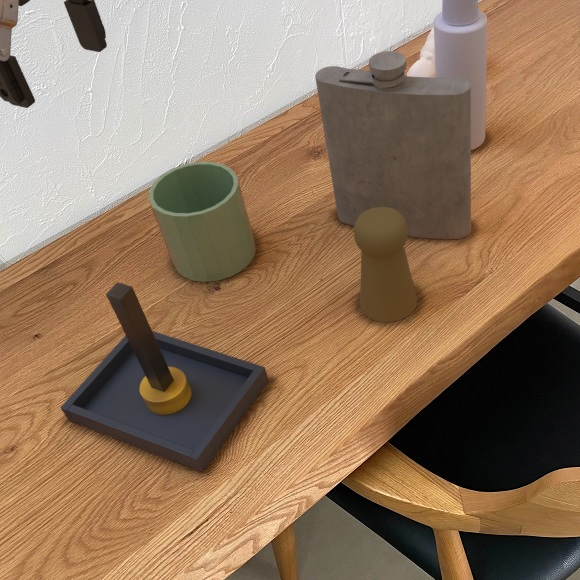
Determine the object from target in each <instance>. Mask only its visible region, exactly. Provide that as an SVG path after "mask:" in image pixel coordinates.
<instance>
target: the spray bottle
mask: <svg viewBox="0 0 580 580" xmlns="http://www.w3.org/2000/svg"><path fill="white" fill-rule="evenodd" d="M441 1H442V3H441V5H442V8H441V9H442V10H441V11H440V12H439V13H438V14H437V15H436V16H435V17H434V19H433V26H434V49H435V77H436V78H450V77H458V78H463V79H466V80H467V81H469V82H470V84H471V151H474V150H476V149H478V148H479V147H481V146H482V145H483V144H484V142H485V139H486V132H487V131H486V130H487V129H486V127H487V126H486V125H487V123H486V122H487V120H486V119H487V70H488V69H487V65H488V64H487V63H488V59H487V58H488V16H487V14H486V13H484V12H483V11H482V10H481V9H479V0H441Z"/></svg>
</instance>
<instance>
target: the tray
mask: <svg viewBox="0 0 580 580" xmlns="http://www.w3.org/2000/svg"><path fill="white" fill-rule="evenodd" d="M152 332H153V334H154V336H155V339H156V341H157V343H158V345H159V348H160V350H161V352H162V354H163V357H164V359H165V361H166V363H167V366H168V367H175V368H178V369H180V370H181V371H182V372H183V373H184V374H185V376H186V379H187V381H188V383H189V386H190V388H191V398H190V400H189V402H188V404H187V405H186V406H185V407H184V408H182V409H181V410H179V411H178V412H176V413H173V414H169V415H158V414H155V413H153V412H151V411H150V410H149V409H148V408H147V406H146V404H145V402H144V400H143V398H142V396H141V394H140V384H141V382H142V380H143V378H144V377H145V374H144V372H143V370H142V368H141V365H140V363H139V361H138V359H137V357H136V355H135V353H134V351H133V349H132V347H131V345H130V343H129V341H128V339H127V337H126V335H124V336H123V337H122V339H121V340H120V341H119V342H118V343H117V344H116V345H115V346H114V348H113V349H111V351H110V352H109V353H108V354H107V355H106V356H105V358H103V360H101V362H100V363H99V364H98V365H97V366H96V368H94V369H93V371H91V373H90V374H89V375H88V376H87V377H86V379H84V381H83V382H82V383H81V384H80V385H79V386H78V387H77V388H76V390H74V392H73V393H72V394H71V395H70V396H69V397H68V399H67V400H66V401H64V403H63V404H62V405H61V406H60V408H59V409H60V410H61V411H62V413H63V414H64V416H65V418H66V419H67V421H68V422H71V423H73V424H75V425H78V426H81V427H83V428H87V429H89V430H92V431H94V432H97V433H99V434H102V435H105V436H107V437H110V438H112V439H115V440H117V441H121V442H122V443H125V444H128V445H130V446H133V447H136V448H138V449H140V450H143V451H146V452H149V453H151V454H154V455H157V456H159V457H162V458H164V459H167V460H170V461H172V462H174V463H177V464H180V465H183V466H185V467H188V468H190V469H193V470H196V471H199V472H200V473H204V472H205V470H206V469H207V467H208V466H209V465H210V463H212V460H214V458H215V456H216V455H217V454H218V452H220V449H221V448H222V447H223V446H224V444H225V443H226V441H228V439H229V437H230V436H231V434H232V433H233V431H234V430H235V429H236V427H237V426H238V424H239V423H240V422H241V420H242V419H243V417H244V416H245V415H246V413H247V412H248V411H249V409H250V408H251V407H252V405H253V404H254V403H255V402H256V400H257V398H258V397H259V395H260V394H261V392H262V391H263V390H264V388H266V386H267V384H269V381H270V380H269V377H268V373H267V369H266V367H265V366H263V365H260V364H257V363H253V362H250V361H248V360H244V359H240V358H238V357H235V356H231V355H228V354H226V353H222V352H219V351H216V350H213V349H210V348H207V347H204V346H201V345H197V344H195V343H191V342H188V341H185V340H182V339H179V338H176V337H173V336H170V335H166V334H163V333H161V332H157V331H155V330H152Z"/></svg>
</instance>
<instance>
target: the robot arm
mask: <svg viewBox="0 0 580 580" xmlns="http://www.w3.org/2000/svg"><path fill="white" fill-rule="evenodd" d="M30 1H31V0H0V98H1V100H3V102H8V103H9V104H10V105H12V106H16V107H20V108H25V109H28V108H30V107H31V106H32V105H34V104H35V103H36V98H35V96H34V94H33V92H32V90H31V88H30V85H29V84H28V81H27V79H26V76H25V75H24V72H23V70H22V68H21V66H20V64H19V61H18V60H17V58H16V56H15V55H11V52H12V51H11V50H12V49H11V48H12V33H13V32H12V31H13V29H14V28H15V27H16V26H17V24H18V22H19V8H20V7H23V6H25V5H26V4H28V3H30ZM63 4H64V7H65V10H66V12H67V14H68V18H69V20H70V22H71V25H72V27H73V29H74V34H75V35H76V37H77V39H78V40H77V41H78V43H79V45H80V46H81V48H82V49H84V50H86V51H91V52H95V53H101V52H102V51H103V50H105V49H106V48H107V47H108V46H107V45H108V42H107V41H106V39H107V34H106V29H105V26H104V23H103V20H102V18H101V15H100V11H99V10H98V6H97V3H96V1H95V0H64V1H63Z"/></svg>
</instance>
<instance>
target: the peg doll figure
mask: <svg viewBox="0 0 580 580" xmlns="http://www.w3.org/2000/svg"><path fill="white" fill-rule="evenodd" d="M353 234H354V235H353V237H354V242H355V244H356V245H357V247H358V249H359V250H360V251H361V253H360V254H361V256H360V257H361V258H360V288H359V289H360V290H359V291H360V292H359V294H360V295H359V304H360V310H361V311H362V313H363V314H364V316H366V317H367V318H369V319H370V320H373V321H376V322H379V323H393V322H394V323H395V322H398V321H401V320H403V319H406V318H407V317H408V316H410V315H411V314H412V313H413V312H414V310H415V309H416V308H417V305H418V298H417V292H416V288H415V284H414V281H413V277H412V273H411V269H410V265H409V261H408V257H407V253H406V249H405V245H406V244H407V240H408V237H409V236H408V228H407V223H406V221H405V219H404V217H403V216H402V215H401V214H400V213H399V212H398V211H396V210H395V209H392V208H389V207H376V208H372V209H369V210H367V211H365V212H363V213H362V214H361V215H360V216H359V217H358V219H357V221H356V223H355V226H353Z"/></svg>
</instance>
